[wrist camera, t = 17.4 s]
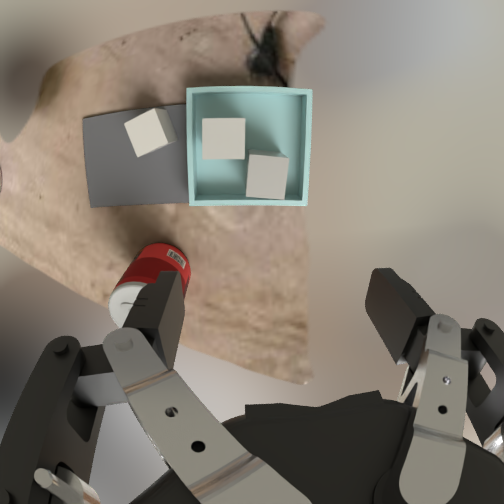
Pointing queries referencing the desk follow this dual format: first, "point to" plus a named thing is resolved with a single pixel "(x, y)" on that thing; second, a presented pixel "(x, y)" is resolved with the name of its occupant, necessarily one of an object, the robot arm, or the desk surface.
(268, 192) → the stone
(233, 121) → the stone
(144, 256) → the canned food
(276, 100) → the bin
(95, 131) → the mat
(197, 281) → the desk surface
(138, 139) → the stone
